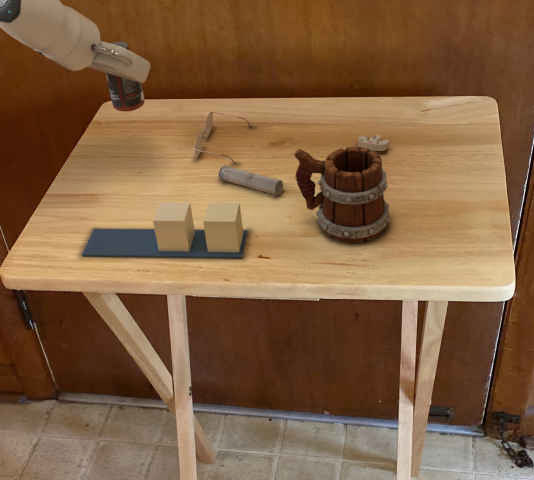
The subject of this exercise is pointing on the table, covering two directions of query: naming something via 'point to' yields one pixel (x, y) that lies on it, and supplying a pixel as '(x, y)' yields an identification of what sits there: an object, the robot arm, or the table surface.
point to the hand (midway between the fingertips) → (125, 73)
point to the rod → (251, 180)
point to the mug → (346, 192)
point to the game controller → (373, 143)
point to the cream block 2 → (223, 227)
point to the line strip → (148, 245)
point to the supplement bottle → (125, 90)
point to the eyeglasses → (207, 134)
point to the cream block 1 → (174, 226)
